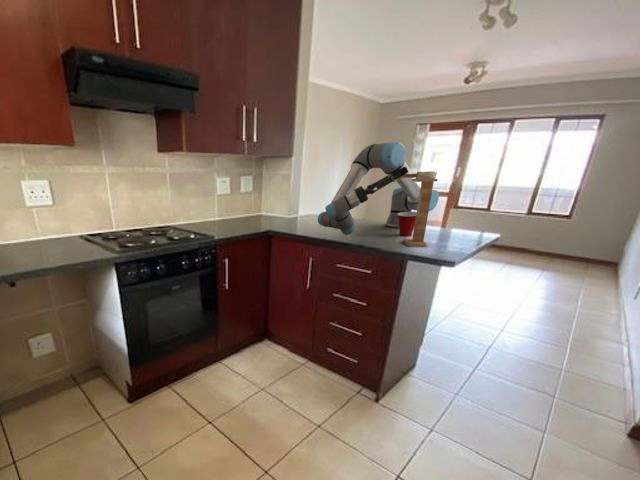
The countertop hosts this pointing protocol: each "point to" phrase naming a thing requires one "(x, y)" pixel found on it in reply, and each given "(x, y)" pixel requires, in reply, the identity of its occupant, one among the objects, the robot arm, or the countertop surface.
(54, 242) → the countertop surface
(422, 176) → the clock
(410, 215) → the plastic cup
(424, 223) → the stand
